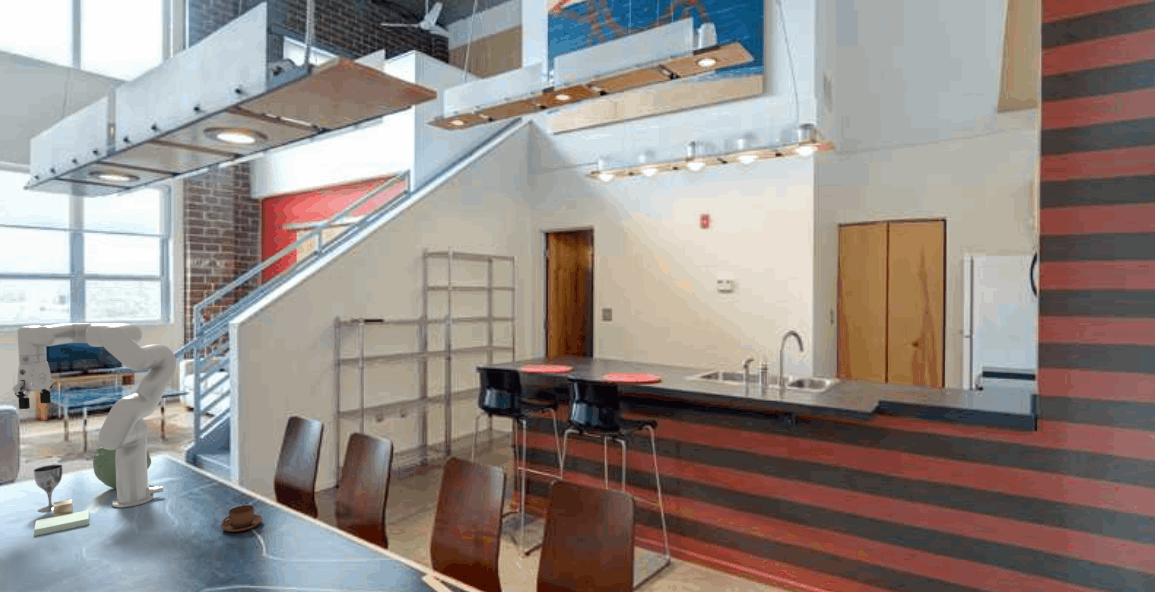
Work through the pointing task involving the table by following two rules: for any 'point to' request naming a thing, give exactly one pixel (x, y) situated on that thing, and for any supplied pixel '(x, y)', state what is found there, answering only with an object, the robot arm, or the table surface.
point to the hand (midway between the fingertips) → (35, 405)
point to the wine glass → (48, 481)
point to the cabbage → (108, 466)
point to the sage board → (61, 522)
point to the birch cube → (63, 507)
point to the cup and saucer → (241, 519)
